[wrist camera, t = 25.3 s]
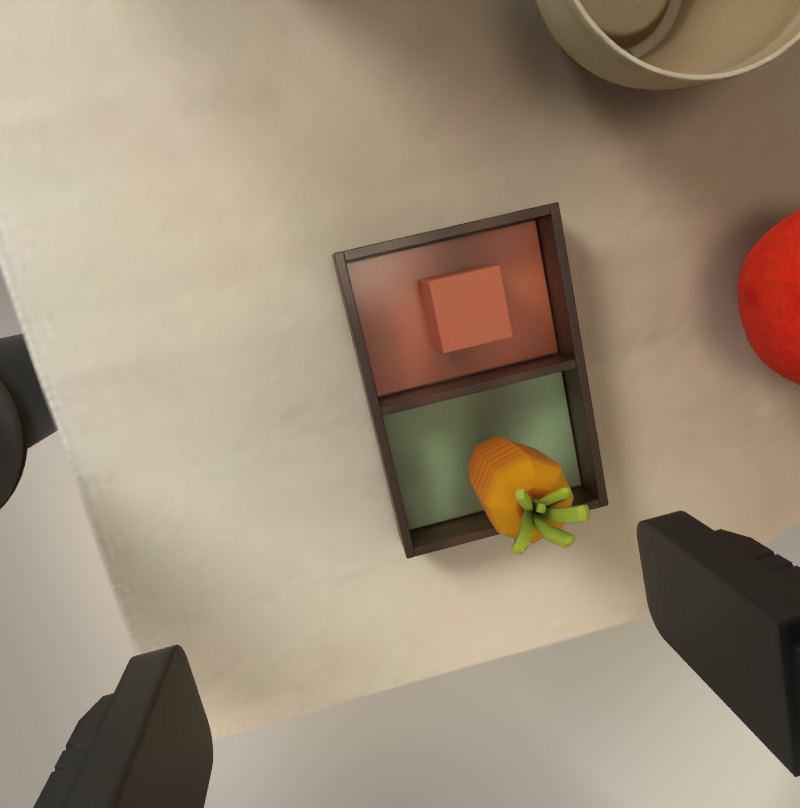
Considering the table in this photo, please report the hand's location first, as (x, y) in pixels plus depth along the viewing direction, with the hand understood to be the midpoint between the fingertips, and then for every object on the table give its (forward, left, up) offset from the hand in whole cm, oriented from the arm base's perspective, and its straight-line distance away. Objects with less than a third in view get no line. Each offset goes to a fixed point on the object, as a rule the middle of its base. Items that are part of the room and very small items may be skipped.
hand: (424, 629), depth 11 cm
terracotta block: (+8, +2, -33) cm, 34 cm away
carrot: (+8, -8, -34) cm, 35 cm away
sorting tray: (+8, -3, -34) cm, 35 cm away
